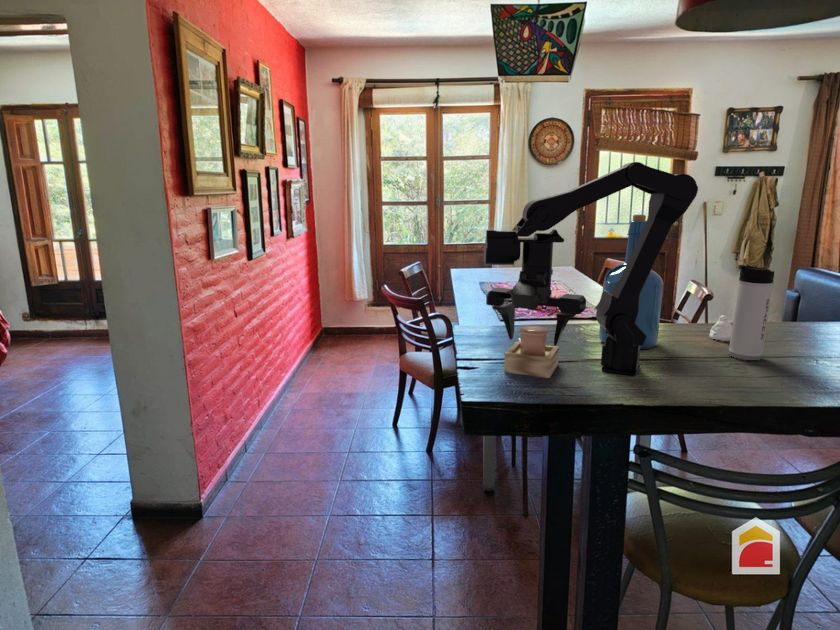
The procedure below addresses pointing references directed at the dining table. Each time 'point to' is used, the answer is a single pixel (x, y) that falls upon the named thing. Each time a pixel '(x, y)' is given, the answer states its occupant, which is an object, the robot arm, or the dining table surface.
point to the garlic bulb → (721, 329)
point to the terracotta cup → (533, 340)
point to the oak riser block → (531, 362)
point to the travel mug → (751, 313)
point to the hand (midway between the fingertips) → (533, 342)
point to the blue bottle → (649, 294)
